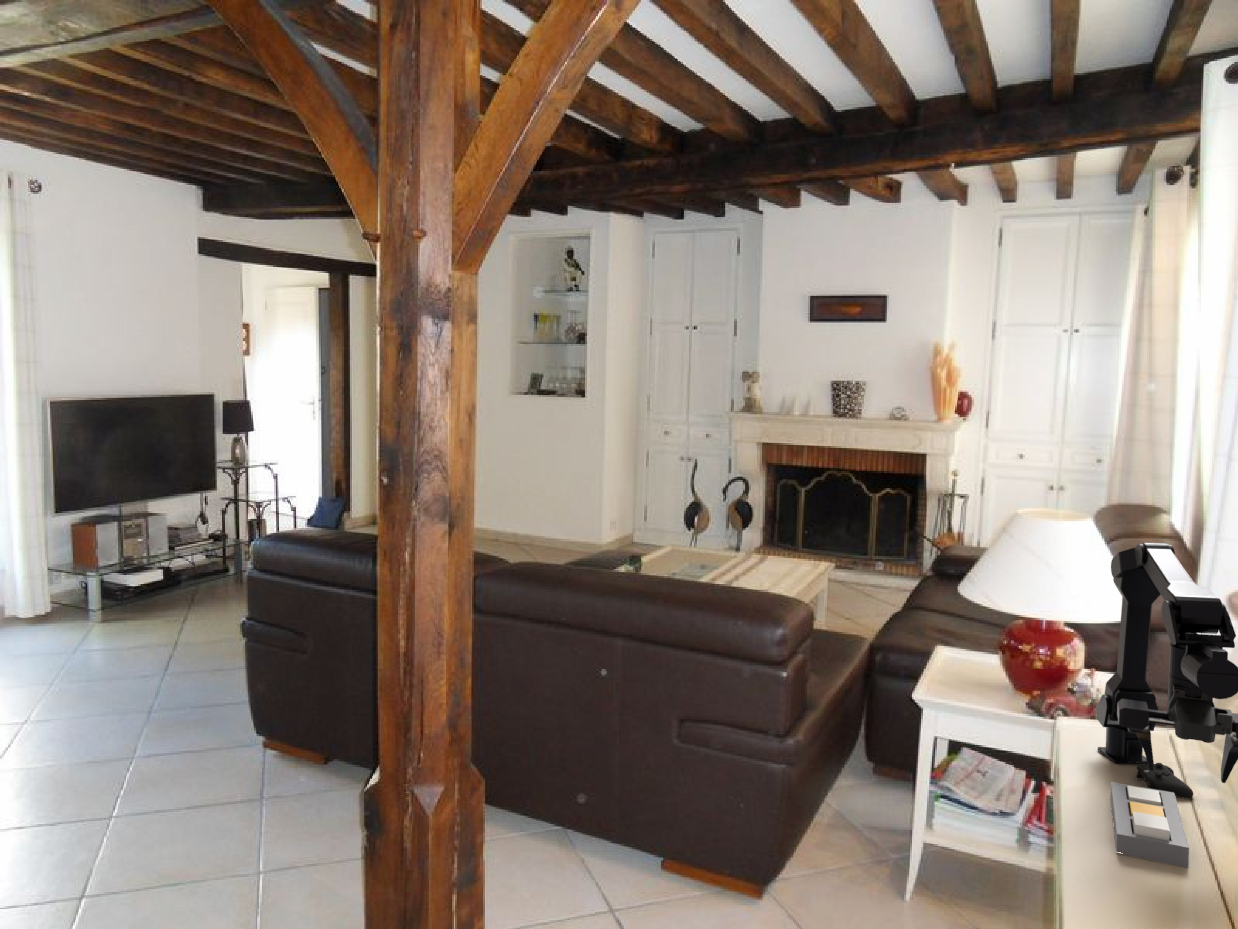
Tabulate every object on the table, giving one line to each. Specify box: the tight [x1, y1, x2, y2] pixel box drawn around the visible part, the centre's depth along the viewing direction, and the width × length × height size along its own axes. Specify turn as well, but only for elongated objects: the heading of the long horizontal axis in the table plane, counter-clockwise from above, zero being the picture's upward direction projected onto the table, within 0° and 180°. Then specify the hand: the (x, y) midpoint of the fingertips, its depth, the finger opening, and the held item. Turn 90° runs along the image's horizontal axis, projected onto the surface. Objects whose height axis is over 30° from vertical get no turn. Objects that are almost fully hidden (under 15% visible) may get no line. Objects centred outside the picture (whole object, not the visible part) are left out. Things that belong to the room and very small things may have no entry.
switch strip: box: [1109, 781, 1190, 868], centre depth 135 cm, size 19×9×3 cm, turn 153°
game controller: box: [1135, 762, 1194, 800], centre depth 151 cm, size 10×5×6 cm
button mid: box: [1129, 801, 1165, 817], centre depth 135 cm, size 4×4×2 cm
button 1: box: [1127, 785, 1161, 805], centre depth 141 cm, size 4×4×2 cm
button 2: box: [1132, 811, 1170, 841], centre depth 130 cm, size 4×4×2 cm
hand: (1186, 776), depth 132 cm, fingers open, 9 cm apart
